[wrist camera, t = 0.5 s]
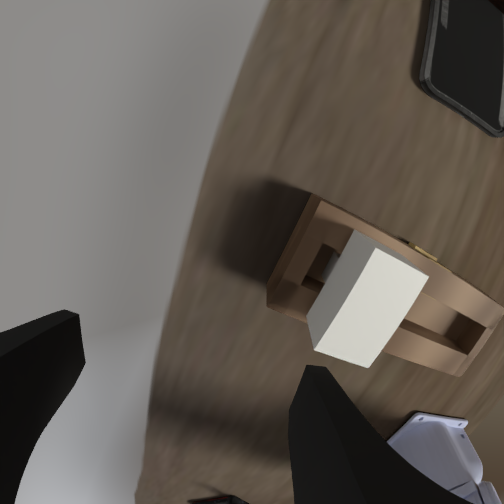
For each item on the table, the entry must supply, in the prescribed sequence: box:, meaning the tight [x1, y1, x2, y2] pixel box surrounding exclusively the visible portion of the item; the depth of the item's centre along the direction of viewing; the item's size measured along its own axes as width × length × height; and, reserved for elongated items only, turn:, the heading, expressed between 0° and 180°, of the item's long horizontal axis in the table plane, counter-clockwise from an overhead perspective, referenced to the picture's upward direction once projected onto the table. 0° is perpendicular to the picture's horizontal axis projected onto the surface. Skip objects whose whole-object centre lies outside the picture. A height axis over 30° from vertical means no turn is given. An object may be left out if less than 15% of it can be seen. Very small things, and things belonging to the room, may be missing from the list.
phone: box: [419, 0, 504, 137], centre depth 12 cm, size 8×1×15 cm
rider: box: [306, 229, 429, 368], centre depth 14 cm, size 3×5×5 cm, turn 156°
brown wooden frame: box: [267, 193, 504, 377], centre depth 17 cm, size 16×6×3 cm, turn 66°
